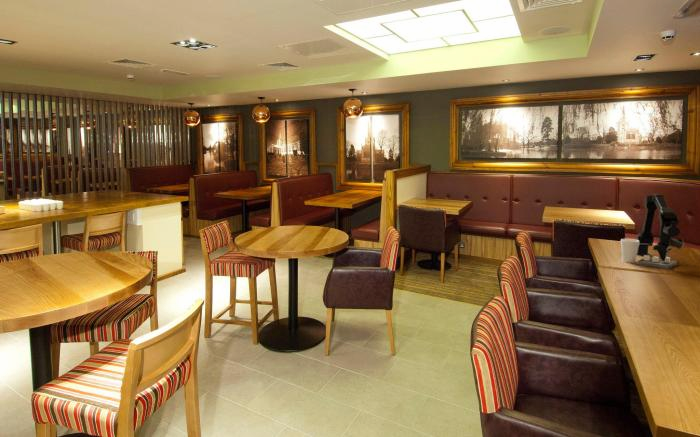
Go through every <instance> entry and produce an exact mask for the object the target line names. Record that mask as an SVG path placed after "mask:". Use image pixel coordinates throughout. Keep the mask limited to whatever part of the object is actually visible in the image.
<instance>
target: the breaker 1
mask: <svg viewBox="0 0 700 437" xmlns="http://www.w3.org/2000/svg"><path fill="white" fill-rule="evenodd" d="M650 257H651V255H643V258H642V259H643V260H646V261H649V260H650Z"/></svg>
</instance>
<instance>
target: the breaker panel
mask: <svg viewBox="0 0 700 437" xmlns="http://www.w3.org/2000/svg"><path fill="white" fill-rule="evenodd" d="M652 259H653V256H650V260H649V261H646V260H643V258H641V259H639V260H637V265H638V266H639V265H640V266H644V267H650V268H656V269H663V270H670V269H671V268H673V267H674V266H676V265H677V263H678V262H677V260H671V259H670V262H669V263H667V262H663V261H662V259H661V258H659V262H653V261H652Z"/></svg>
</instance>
